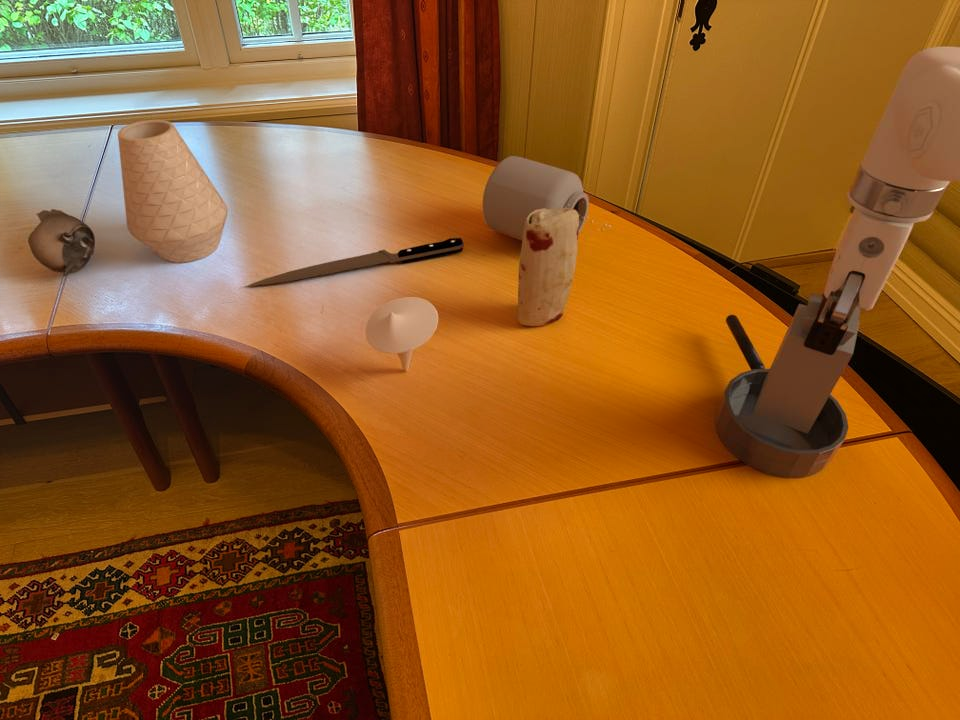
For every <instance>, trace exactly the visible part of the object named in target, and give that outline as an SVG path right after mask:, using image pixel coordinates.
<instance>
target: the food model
mask: <svg viewBox="0 0 960 720" xmlns="http://www.w3.org/2000/svg"><path fill="white" fill-rule="evenodd" d="M578 231H579V215H578V213H577V211H576V210H574V209H571V208H562V209H555V210H546V209H545V208H544V209H539V210H535V211H534V212H532V213H530V215H529V216H528V217H527V218H526V221H525V226H524V233H523V241H521V250H520V256H519V263H518V284H517V285H518V286H517V320H518V322H519V324H520V325H523V326H526V327H527V326H528V327H540V326H546V325H549V324H552V323H555V322H557V321H559V320H560V319H561V318H562V316H563V315H564V313H565V310H566V307H567V303H568V299H569V296H570V293H571V288H572V284H573V280H574V276H575V271H576V266H577V263H576V262H577V256H578V246H579V245H578V244H579V234H578Z"/></svg>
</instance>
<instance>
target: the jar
mask: <svg viewBox="0 0 960 720" xmlns="http://www.w3.org/2000/svg"><path fill="white" fill-rule="evenodd" d="M589 206H590V199H589V196H588V193H586V192H584V188H583V184H582V180H581V179H580V177H579V175H578V174H576V173H574V172H572V171H569V170H566V169H562V168H561V167H560V168H559V167H556V166H552V165H549V164H545V163H542V162H539V161H536V160H532V159H528V158H525V157H522V156H516V155H511V156H508V157H506V158H504V159H502V160H501V161H500V162H498V164H497V165H496V166H495V167H494V169H493V170H492V172H491V173H490V175H489V176H488V179H487V181H486V184H485V187H484V190H483V194H482V216H483V219H484V222H485V223H486V225H487V227H488V228H489V229H490V230H492V231H494V232H496V233H499V234H501V235H504V236H507V237H510V238H513V239H516V240H518V241H520V242H522V241H523V233H524V226H525V221H526V218H527V217H528V216H529V215H530V213H532V212H534V211H535V210H539V209H544V208H545V209H546V210H555V209H562V208H571V209H574V210H576V211H577V213H578V215H579V231H578V235H579V234H580V233H581V231H582V229H583V227H584V225H585V222H586V220H588V219H589V218H590V217H589V216H588V212H589ZM600 222H603V220H602V219H601V220H600ZM590 223H591V224H593V223H594V220H592V219H591V220H590ZM603 226H604V227H607V228H611V225H610V224H609V225H608V224H607V223H604V224H603ZM597 231H600V228H598V229H597ZM601 231H602V232H604V231H605V229H604V228H602V230H601Z"/></svg>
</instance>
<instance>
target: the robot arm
mask: <svg viewBox="0 0 960 720" xmlns="http://www.w3.org/2000/svg"><path fill="white" fill-rule="evenodd" d="M951 182H960V46H944V45H943V46H933V47H928V48H925V49H922V50H920V51H917V53H915V54H914V55H912V57H911V58H910V59H909V60H908V61H907V62H906V63H905V66H904V67H903V69H902V72H901V73H900V76H899V78H898V81H897V83H896V85H895V87H894V89H893V91H892V94H891V96H890V98H889V101H888V103H887V105H886V107H885V110H884V112H883V114H882V116H881V118H880V120H879V122H878V125H877V127H876V129H875V132H874V134H873V136H872V138H871V141H870V143H869V145H868V147H867V149H866V151H865V154H864V156H863V159H862V160H861V163H860V165H859V167H858V170H857V172H856V173H855V176H854V179H853V181H852V183H851V185H850V187H849V189H848V192H847V193H846V199H847V200H848V203H849V204H850V205H851V206H852V207H854V210H853V212H852V214H851V216H850V218H849V221H848V222H847V224H846V227H845V230H844V231H843V234H842V237H841V239H840V241H839V244H838V246H837V249H836V251H835V254H834V257H833V260H832V262H831V266H830V269H829V272H828V276H827V280H826V283H825V287H824V290H823V292H822V295H821V296H823V295H825V297H826V298H827V301H826V303H825V306H824V308H823V310H822V312H821V315H820V317H818V316H817V317H816V319H815V321H814V323H813V325H812V327H811V329H810V331H809V333H808V335H807V337H806V339H805V342H804V346H805V347H807V348H810V349H813V350H816V351H819V352H822V353H825V354H828V355H833V354H834V353H835V351H836V349H837V347H838V345H839V343H840V342H841V340H842V338H843V336H844V334H845V332H846V330H847V329H848V326H847V325H848V323H849V321H850V319H851V317H852V315H853V312H854V310H855V308H856V306H857V307H859V308H861V309H863V310H864V311H866V312H867V311H871V310H872V309H873V308H874V306H875V304H876V302H877V301H878V299H879V296H880V294H881V292H882V291H883V288H884V286H885V285H886V282H887V281H888V279H889V277H890V275H891V273H892V271H893V269H894V267H895V266H896V263H897V261H898V259H899V257H900V255H901V253H902V251H903V249H904V247H905V245H906V243H907V241H908V239H909V236H910V234H911V232H912V230H913V228H914V225H915V224H916V223H922V222H925V221H927V220H929V219H930V218H931V217H932V215H933V213H934V211H935V210H936V208H937V206H938V204H939V202H940V201H941V199H942V197H943V195H944V193H945V192H946V190H947V188H948V186H949V184H950V183H951ZM836 290H838V291H842V292H841V295H840V297H839V296H836V295H834V294H835V292H836ZM855 296H856V297H855ZM854 298H855V299H854ZM853 300H854V301H853ZM832 302H837V304H836V306H835V308H834V310H830V311H829V309H830V307H831V304H832ZM828 311H829V312H828Z"/></svg>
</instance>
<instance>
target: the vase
mask: <svg viewBox="0 0 960 720" xmlns="http://www.w3.org/2000/svg"><path fill="white" fill-rule="evenodd" d="M117 141H118V148H119V149H118V150H119V160H120V171H121V180H122V189H123V199H124V209H125V217H126V218H125V219H126V220H125V221H126V228H127V230H128V232H129V234H130V235H131V236H132V237H133V238H135V239H136V240H137V241H138V242H140V243H141V244H143V245H144V246H145V247H147V248H148V250H151V251H152V252H153V253H155V254H156V255H157V256H158V257H160V258H161V259H162V260H165V261H166V262H169V263H177V264H178V263H179V264H181V263H182V264H183V263H185V264H186V263H192V262H195V261H199V260H202V259H205V258H207V257H209V256H210V255H212V254H213V253H214V252H215V251H216V250H217V249H218V248H219V246H220V243H221V239H222V236H223V231H224V228H225V224H226V221H227V217H228V213H229V212H228V206H227V203H226V202H225V201H224V199H223V197H222V196H221V195H220V193H219V192H218V190H217V189H216V187H215V185H214V184H213V182H212V181H211V179H210V177H209V176H208V174H207V173H206V172H205V171H204V169H203V167H202V166H201V164H200V163H199V161H198V159H196V156H195V155H194V153H193V152H192V151H191V149H190V148H189V146H188V144H187V143H186V141H185V140H184V138H183V137H182V136H181V134H180V132H179V130H178V129H177V128H176V127H175V125H174V124H173V123H172V122H171V121H168V120H165V119H145V120H140V121H136V122H132V123H129V124H127V125H125V126H123V127H121V128H120V129H119V130H118V132H117Z"/></svg>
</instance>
